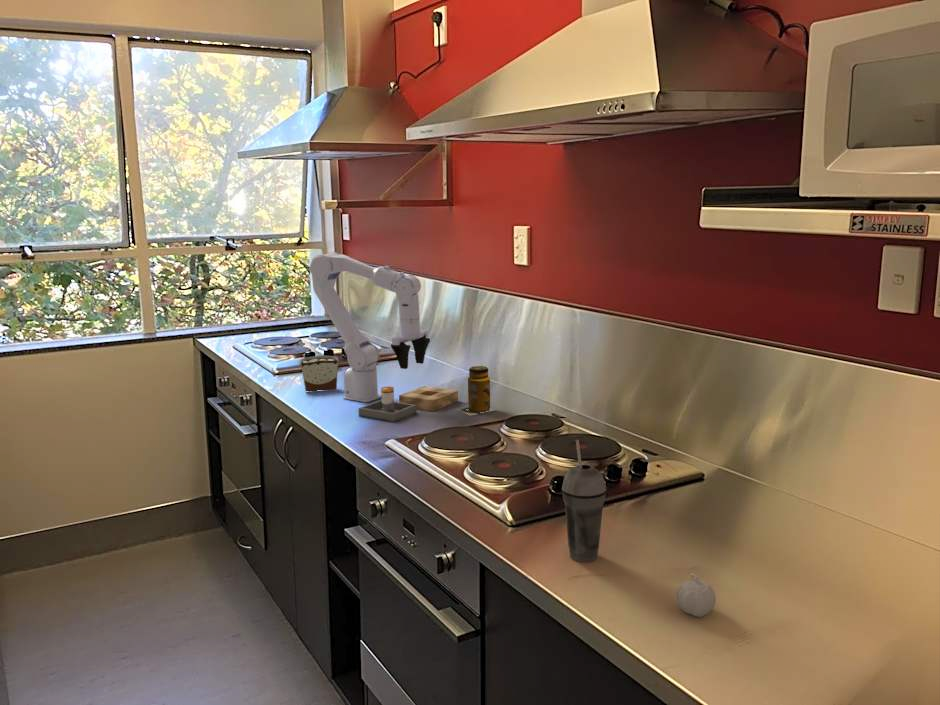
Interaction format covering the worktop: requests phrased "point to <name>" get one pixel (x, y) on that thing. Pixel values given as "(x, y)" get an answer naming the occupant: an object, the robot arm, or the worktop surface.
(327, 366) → the food container
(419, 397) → the socket block
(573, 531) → the beverage cup
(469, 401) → the condiment
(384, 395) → the small glass vial
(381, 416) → the tray
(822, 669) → the worktop surface
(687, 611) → the garlic
